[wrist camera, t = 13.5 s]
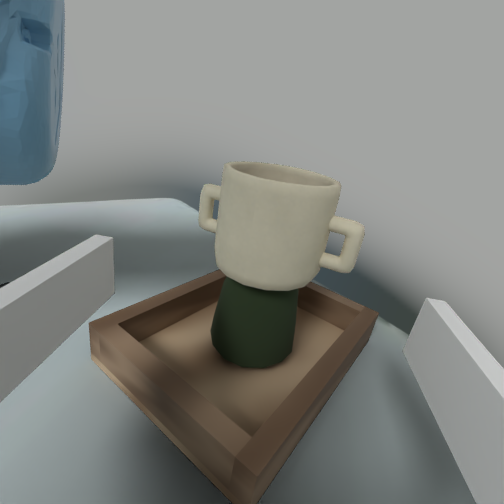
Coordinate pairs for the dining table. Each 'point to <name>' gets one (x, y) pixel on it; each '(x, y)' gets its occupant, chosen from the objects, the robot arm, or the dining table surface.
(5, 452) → the dining table surface
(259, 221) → the character mug
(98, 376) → the dining table surface
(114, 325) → the wooden tray
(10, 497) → the dining table surface
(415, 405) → the dining table surface
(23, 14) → the robot arm
